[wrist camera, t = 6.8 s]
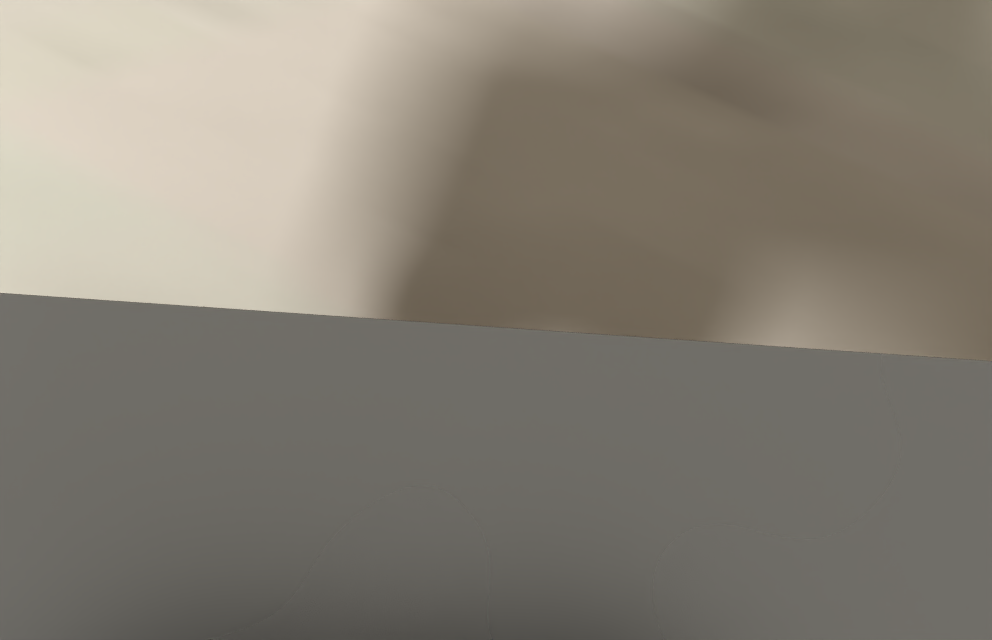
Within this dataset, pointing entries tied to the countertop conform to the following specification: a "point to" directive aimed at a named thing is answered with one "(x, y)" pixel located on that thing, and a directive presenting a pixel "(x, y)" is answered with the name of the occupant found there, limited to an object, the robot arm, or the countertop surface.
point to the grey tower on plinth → (477, 482)
